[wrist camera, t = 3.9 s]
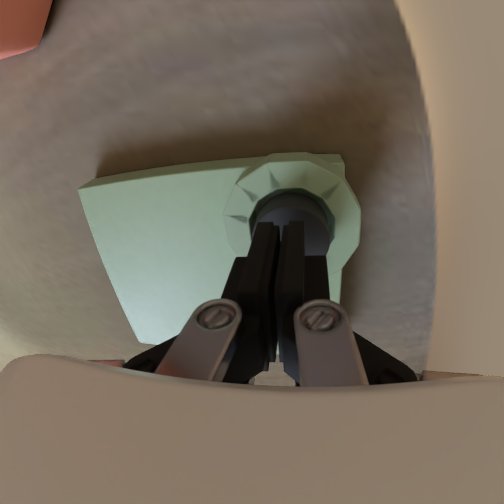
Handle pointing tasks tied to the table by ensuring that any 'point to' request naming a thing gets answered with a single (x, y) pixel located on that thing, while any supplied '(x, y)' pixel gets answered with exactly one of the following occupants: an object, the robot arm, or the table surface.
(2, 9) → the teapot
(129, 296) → the scale
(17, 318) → the table surface
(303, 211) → the tare button
